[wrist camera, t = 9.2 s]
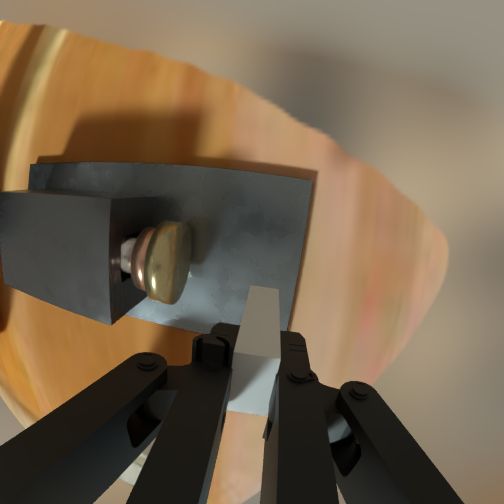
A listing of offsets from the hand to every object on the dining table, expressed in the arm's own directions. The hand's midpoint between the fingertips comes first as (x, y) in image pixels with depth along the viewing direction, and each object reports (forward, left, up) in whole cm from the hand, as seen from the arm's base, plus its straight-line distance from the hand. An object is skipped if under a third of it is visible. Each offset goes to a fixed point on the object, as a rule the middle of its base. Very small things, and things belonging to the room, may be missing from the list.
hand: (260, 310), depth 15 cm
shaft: (-12, -13, -10) cm, 20 cm away
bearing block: (-10, -10, -11) cm, 18 cm away
